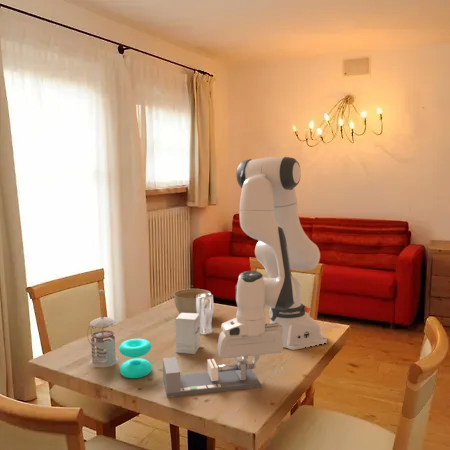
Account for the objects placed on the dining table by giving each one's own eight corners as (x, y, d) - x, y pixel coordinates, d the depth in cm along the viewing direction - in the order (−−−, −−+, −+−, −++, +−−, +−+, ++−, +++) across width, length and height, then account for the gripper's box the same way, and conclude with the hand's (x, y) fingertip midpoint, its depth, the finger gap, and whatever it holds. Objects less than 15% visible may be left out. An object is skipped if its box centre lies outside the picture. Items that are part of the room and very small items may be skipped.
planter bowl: (205, 325, 196) (205, 299, 195) (168, 322, 200) (168, 297, 198) (215, 313, 211) (215, 289, 210) (181, 310, 215) (180, 287, 214)
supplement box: (195, 354, 166) (195, 319, 164) (175, 352, 167) (174, 318, 166) (200, 346, 173) (200, 313, 171) (181, 345, 174) (180, 311, 173)
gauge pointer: (213, 371, 147) (213, 358, 146) (218, 380, 140) (218, 367, 140) (207, 371, 146) (207, 359, 146) (211, 381, 140) (211, 367, 139)
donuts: (132, 351, 143) (112, 343, 150) (133, 382, 145) (113, 373, 151) (157, 342, 151) (137, 334, 157) (158, 372, 152) (138, 363, 159)
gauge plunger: (240, 368, 150) (240, 353, 149) (247, 379, 142) (247, 363, 141) (213, 371, 148) (213, 356, 147) (218, 382, 140) (218, 366, 139)
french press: (103, 370, 154) (100, 295, 150) (79, 362, 160) (75, 290, 156) (124, 359, 162) (122, 288, 159) (100, 352, 168) (97, 284, 165)
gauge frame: (250, 371, 152) (250, 349, 151) (260, 386, 141) (260, 364, 140) (163, 380, 146) (162, 358, 145) (166, 397, 135) (166, 373, 134)
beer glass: (204, 327, 192) (204, 292, 191) (217, 331, 188) (217, 295, 186) (192, 332, 187) (192, 295, 185) (205, 336, 183) (205, 299, 181)
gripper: (279, 319, 149) (279, 360, 151) (216, 324, 145) (216, 367, 147) (286, 325, 143) (285, 369, 145) (220, 331, 139) (220, 376, 140)
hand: (250, 368), depth 146 cm, fingers closed
